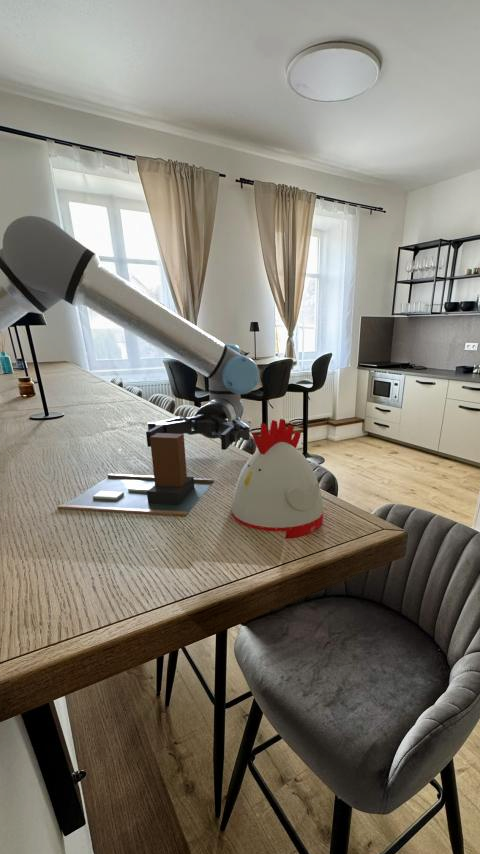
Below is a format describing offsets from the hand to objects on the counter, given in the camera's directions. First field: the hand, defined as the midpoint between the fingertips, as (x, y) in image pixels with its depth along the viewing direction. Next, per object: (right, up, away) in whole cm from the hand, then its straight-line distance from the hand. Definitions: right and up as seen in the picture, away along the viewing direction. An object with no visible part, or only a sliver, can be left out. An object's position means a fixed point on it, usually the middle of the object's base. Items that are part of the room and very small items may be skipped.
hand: (185, 440), depth 73 cm
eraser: (-1, -10, -5) cm, 11 cm away
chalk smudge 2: (-7, -9, -3) cm, 11 cm away
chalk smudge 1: (-11, -10, -6) cm, 16 cm away
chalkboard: (-6, -10, -4) cm, 13 cm away
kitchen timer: (+16, -13, -10) cm, 23 cm away
